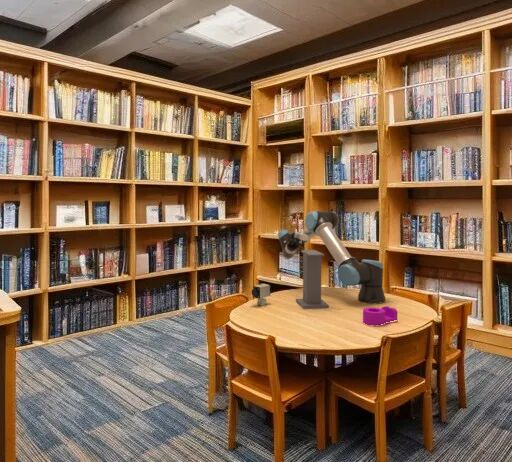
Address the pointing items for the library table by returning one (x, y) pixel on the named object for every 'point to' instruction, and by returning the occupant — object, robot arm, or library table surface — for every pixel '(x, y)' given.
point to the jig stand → (312, 281)
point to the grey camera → (261, 293)
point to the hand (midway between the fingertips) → (299, 231)
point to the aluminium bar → (302, 236)
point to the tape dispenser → (379, 315)
